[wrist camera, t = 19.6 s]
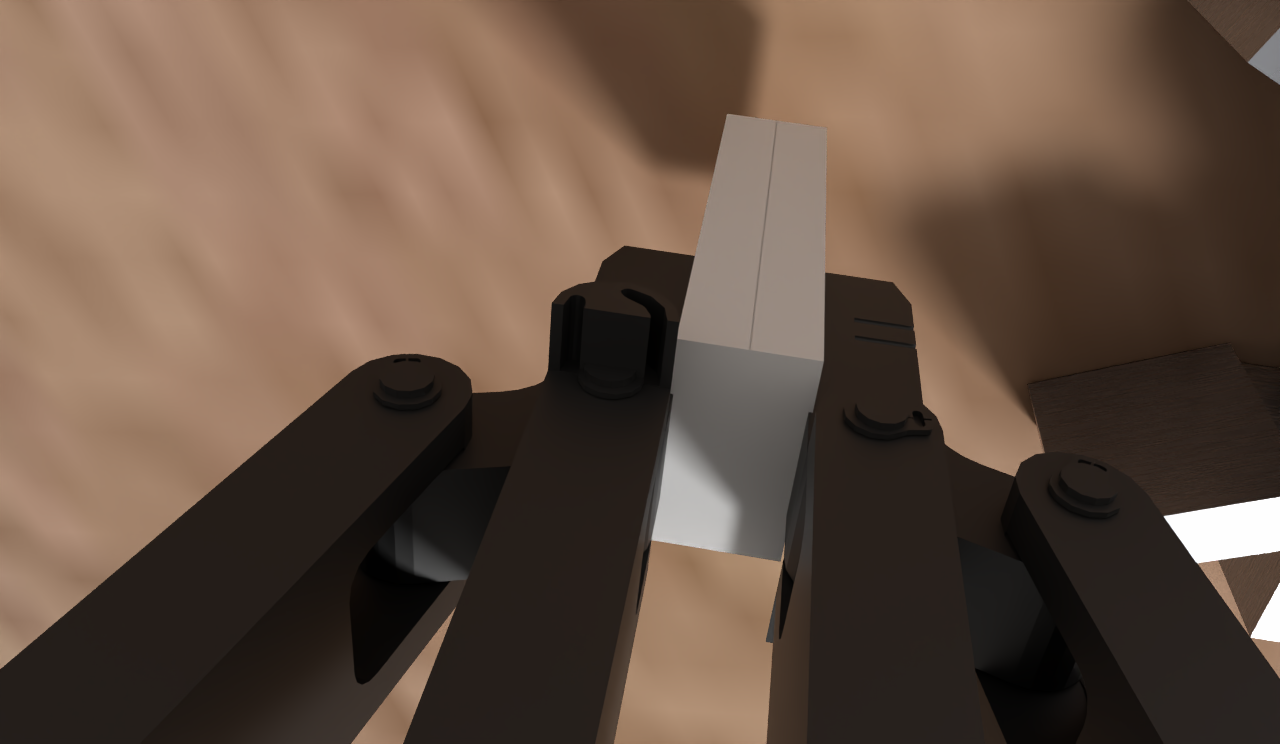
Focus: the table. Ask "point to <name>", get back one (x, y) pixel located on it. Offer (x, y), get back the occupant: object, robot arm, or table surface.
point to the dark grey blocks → (1194, 414)
